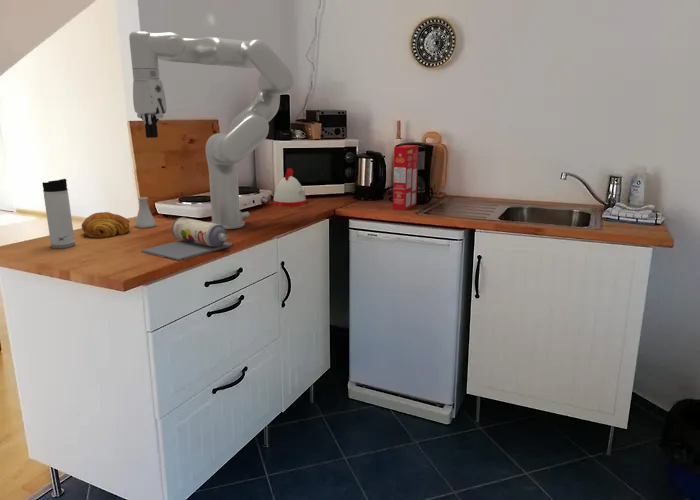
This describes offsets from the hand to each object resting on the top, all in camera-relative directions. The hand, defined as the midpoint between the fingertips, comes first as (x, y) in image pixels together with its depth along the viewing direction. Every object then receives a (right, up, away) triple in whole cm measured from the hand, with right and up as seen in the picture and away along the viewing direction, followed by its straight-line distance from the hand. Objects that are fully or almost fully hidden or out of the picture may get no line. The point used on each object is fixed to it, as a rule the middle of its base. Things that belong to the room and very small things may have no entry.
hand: (152, 137), depth 167 cm
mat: (+14, -35, -10) cm, 39 cm away
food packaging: (+85, -17, +57) cm, 104 cm away
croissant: (-18, -30, +9) cm, 36 cm away
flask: (-9, -27, +19) cm, 35 cm away
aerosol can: (+9, -28, -2) cm, 30 cm away
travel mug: (-24, -34, -7) cm, 42 cm away
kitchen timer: (+36, -15, +65) cm, 75 cm away
